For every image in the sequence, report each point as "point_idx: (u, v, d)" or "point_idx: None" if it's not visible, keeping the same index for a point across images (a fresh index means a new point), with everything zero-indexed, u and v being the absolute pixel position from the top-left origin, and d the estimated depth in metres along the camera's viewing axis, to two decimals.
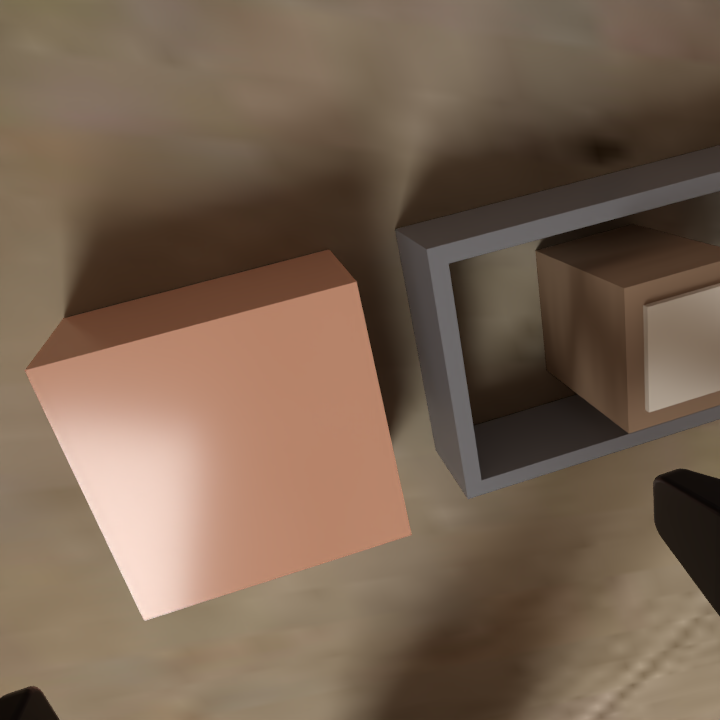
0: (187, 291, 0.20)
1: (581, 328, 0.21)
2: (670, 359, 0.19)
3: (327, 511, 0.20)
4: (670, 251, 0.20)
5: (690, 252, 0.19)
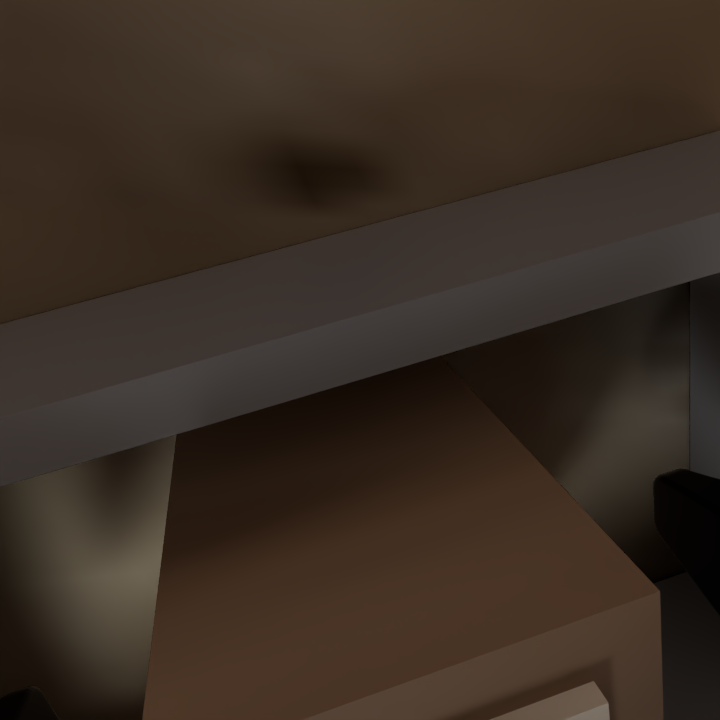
0: None
1: None
2: None
3: None
4: (439, 504, 0.06)
5: (487, 526, 0.06)
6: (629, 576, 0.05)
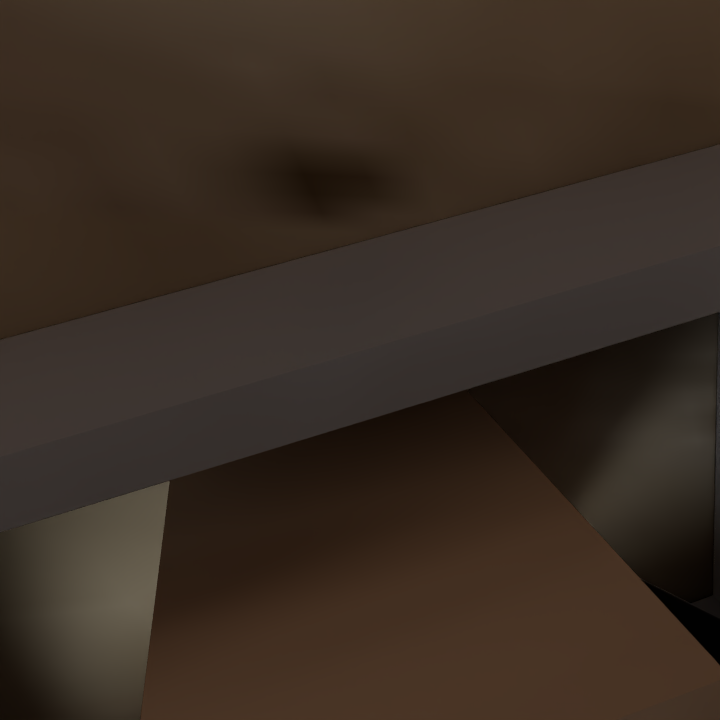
0: None
1: None
2: None
3: None
4: (463, 555, 0.05)
5: (520, 586, 0.05)
6: (692, 657, 0.04)
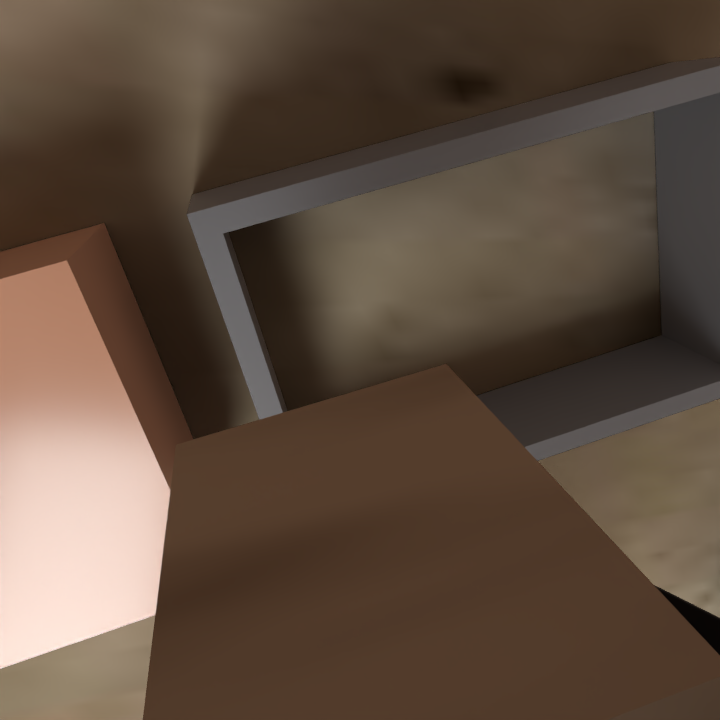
0: None
1: None
2: None
3: (89, 569, 0.15)
4: (466, 551, 0.06)
5: (524, 582, 0.05)
6: (696, 651, 0.04)
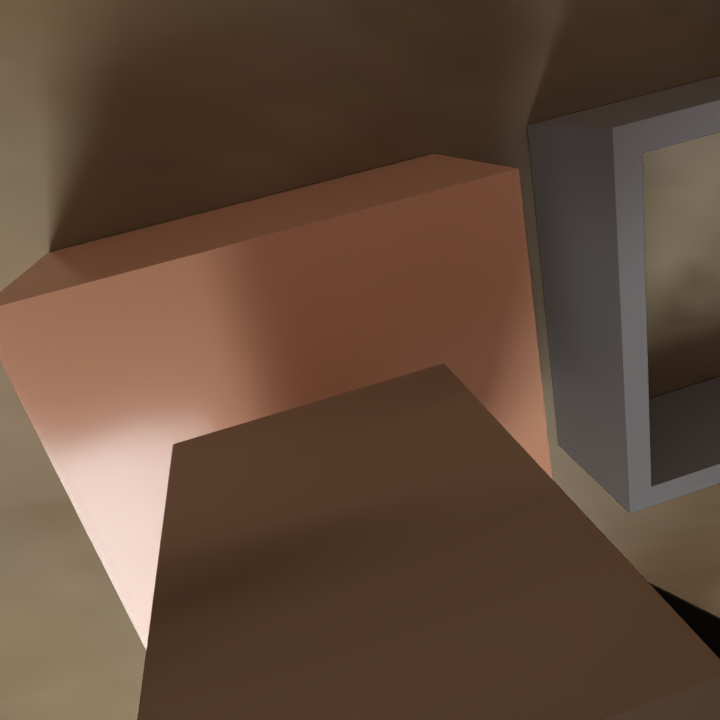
0: (232, 209, 0.13)
1: None
2: None
3: None
4: (463, 551, 0.05)
5: (520, 582, 0.05)
6: (693, 651, 0.04)
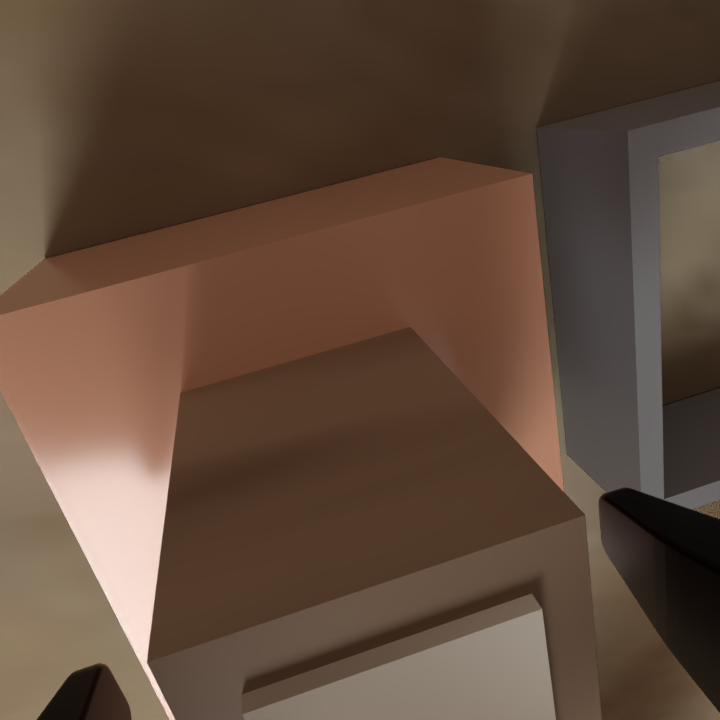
0: (233, 215, 0.13)
1: None
2: None
3: None
4: (408, 454, 0.07)
5: (448, 471, 0.07)
6: (561, 505, 0.06)
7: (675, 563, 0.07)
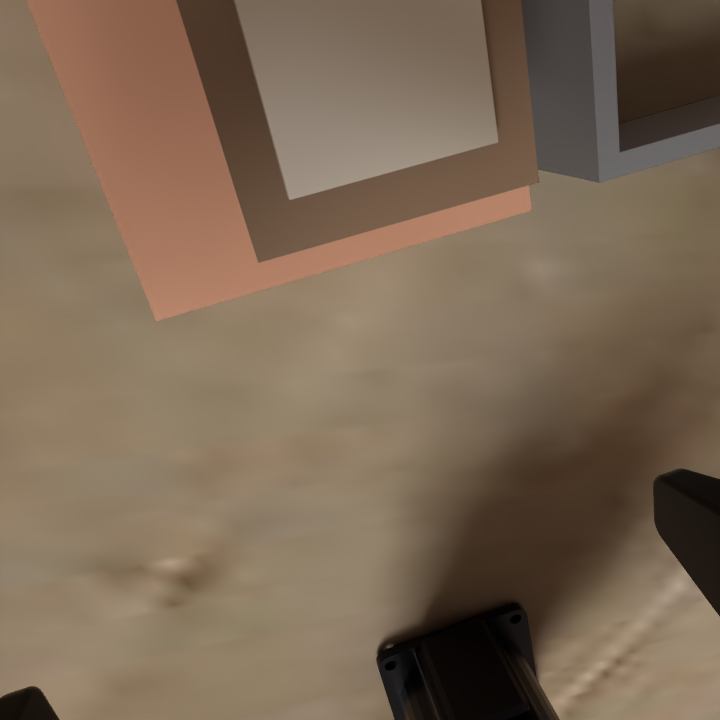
0: None
1: (188, 39, 0.09)
2: (314, 38, 0.07)
3: None
4: None
5: None
6: None
7: None
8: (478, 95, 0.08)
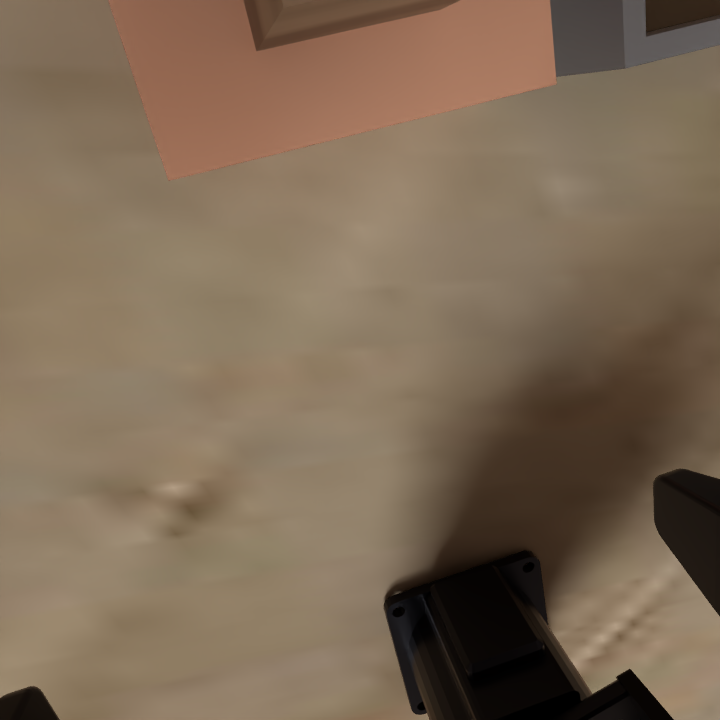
0: None
1: None
2: None
3: (441, 13, 0.13)
4: None
5: None
6: None
7: None
8: None
